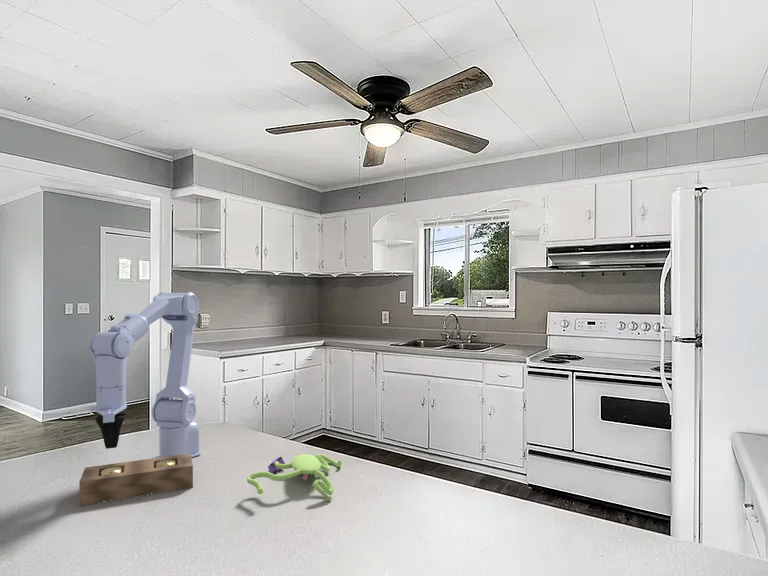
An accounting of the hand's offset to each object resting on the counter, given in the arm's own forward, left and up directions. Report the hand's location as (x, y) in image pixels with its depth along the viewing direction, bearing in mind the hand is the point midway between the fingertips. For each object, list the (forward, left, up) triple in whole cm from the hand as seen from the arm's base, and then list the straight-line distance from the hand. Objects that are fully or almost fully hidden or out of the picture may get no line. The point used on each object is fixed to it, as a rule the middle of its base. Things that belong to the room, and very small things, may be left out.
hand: (111, 447), depth 108 cm
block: (-5, +3, -10) cm, 12 cm away
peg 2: (-9, +6, -10) cm, 15 cm away
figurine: (-27, +30, -11) cm, 42 cm away
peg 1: (0, 0, -10) cm, 10 cm away
